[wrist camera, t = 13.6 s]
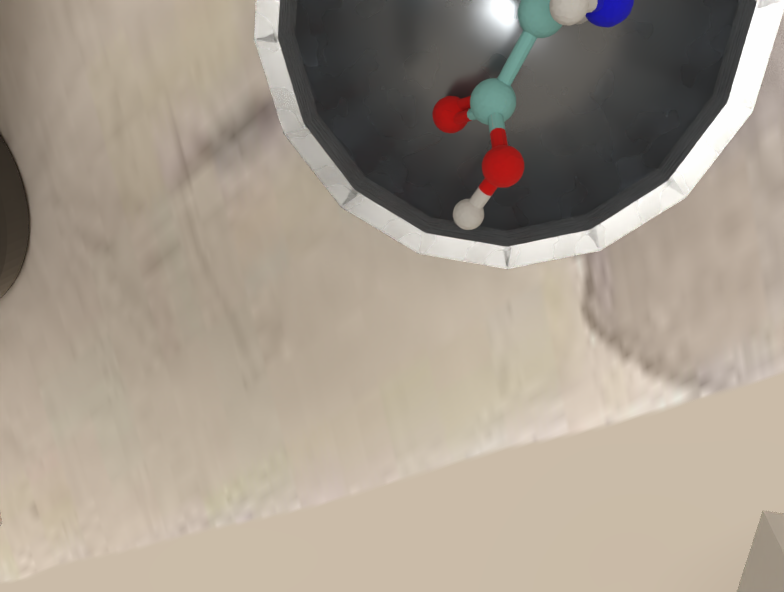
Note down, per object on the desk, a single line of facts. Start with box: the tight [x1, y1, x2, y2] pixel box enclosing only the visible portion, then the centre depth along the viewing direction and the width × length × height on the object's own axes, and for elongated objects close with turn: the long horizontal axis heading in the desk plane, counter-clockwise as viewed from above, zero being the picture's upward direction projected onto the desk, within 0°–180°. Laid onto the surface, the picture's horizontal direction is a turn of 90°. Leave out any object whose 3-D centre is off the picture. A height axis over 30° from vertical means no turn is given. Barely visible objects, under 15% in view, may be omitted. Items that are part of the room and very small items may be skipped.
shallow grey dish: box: [254, 0, 784, 269], centre depth 30 cm, size 20×20×4 cm
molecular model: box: [432, 0, 634, 230], centre depth 28 cm, size 12×10×10 cm
